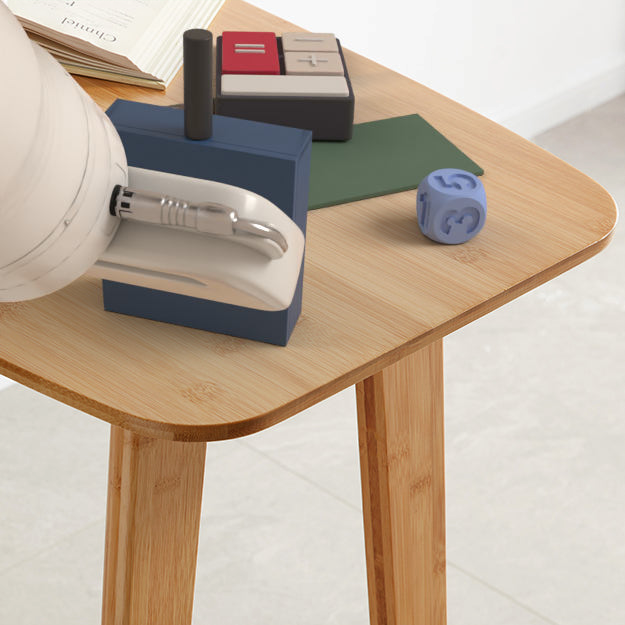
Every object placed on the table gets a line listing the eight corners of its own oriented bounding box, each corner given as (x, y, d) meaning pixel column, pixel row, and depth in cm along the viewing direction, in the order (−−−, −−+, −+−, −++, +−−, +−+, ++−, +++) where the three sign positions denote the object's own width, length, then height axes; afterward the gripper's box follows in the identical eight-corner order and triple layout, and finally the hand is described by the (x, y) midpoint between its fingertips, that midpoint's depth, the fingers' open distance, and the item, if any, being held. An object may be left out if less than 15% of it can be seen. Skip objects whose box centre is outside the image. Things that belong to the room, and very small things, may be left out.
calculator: (339, 28, 101) (356, 90, 89) (337, 75, 104) (353, 141, 91) (216, 26, 100) (215, 87, 88) (216, 73, 103) (215, 139, 90)
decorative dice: (413, 217, 83) (419, 169, 81) (465, 213, 84) (472, 166, 82) (428, 246, 80) (435, 197, 78) (482, 243, 81) (490, 194, 78)
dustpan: (285, 346, 70) (301, 58, 59) (103, 310, 72) (84, 24, 61) (301, 312, 73) (318, 31, 62) (126, 277, 75) (111, 0, 64)
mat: (197, 233, 80) (197, 228, 80) (147, 164, 87) (147, 160, 87) (483, 174, 89) (484, 170, 89) (416, 117, 96) (417, 113, 96)
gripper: (292, 141, 40) (337, 234, 54) (-222, 53, 43) (-58, 161, 57) (253, 313, 39) (309, 364, 53) (-269, 210, 43) (-91, 282, 56)
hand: (115, 258), depth 55 cm, fingers closed
